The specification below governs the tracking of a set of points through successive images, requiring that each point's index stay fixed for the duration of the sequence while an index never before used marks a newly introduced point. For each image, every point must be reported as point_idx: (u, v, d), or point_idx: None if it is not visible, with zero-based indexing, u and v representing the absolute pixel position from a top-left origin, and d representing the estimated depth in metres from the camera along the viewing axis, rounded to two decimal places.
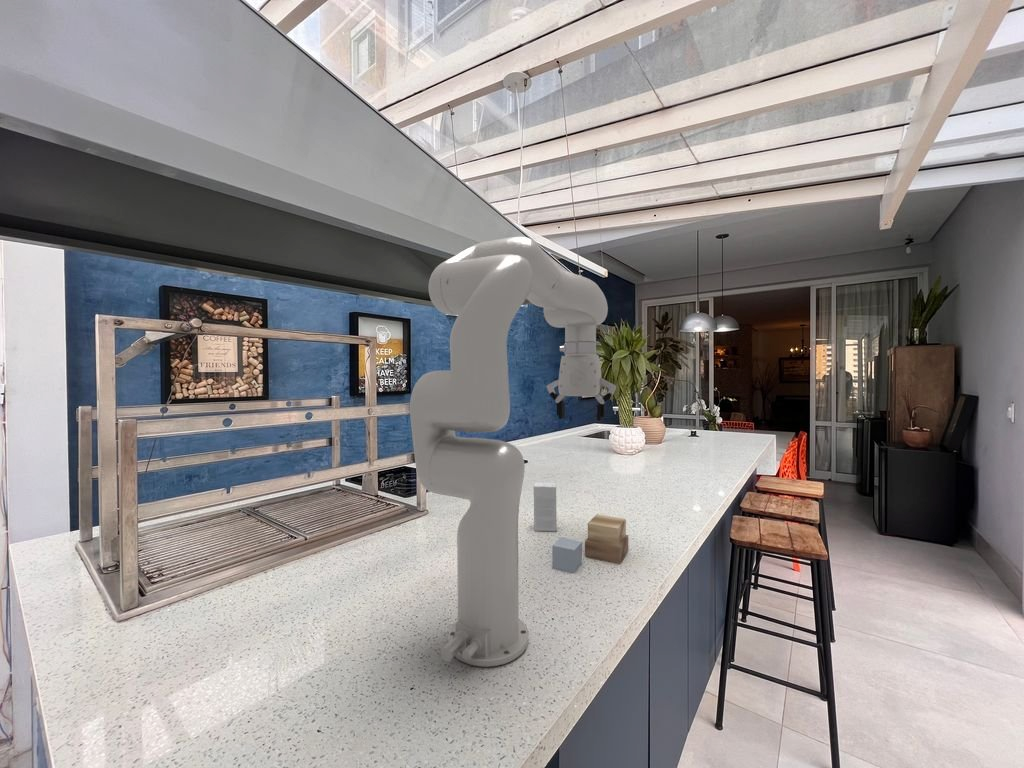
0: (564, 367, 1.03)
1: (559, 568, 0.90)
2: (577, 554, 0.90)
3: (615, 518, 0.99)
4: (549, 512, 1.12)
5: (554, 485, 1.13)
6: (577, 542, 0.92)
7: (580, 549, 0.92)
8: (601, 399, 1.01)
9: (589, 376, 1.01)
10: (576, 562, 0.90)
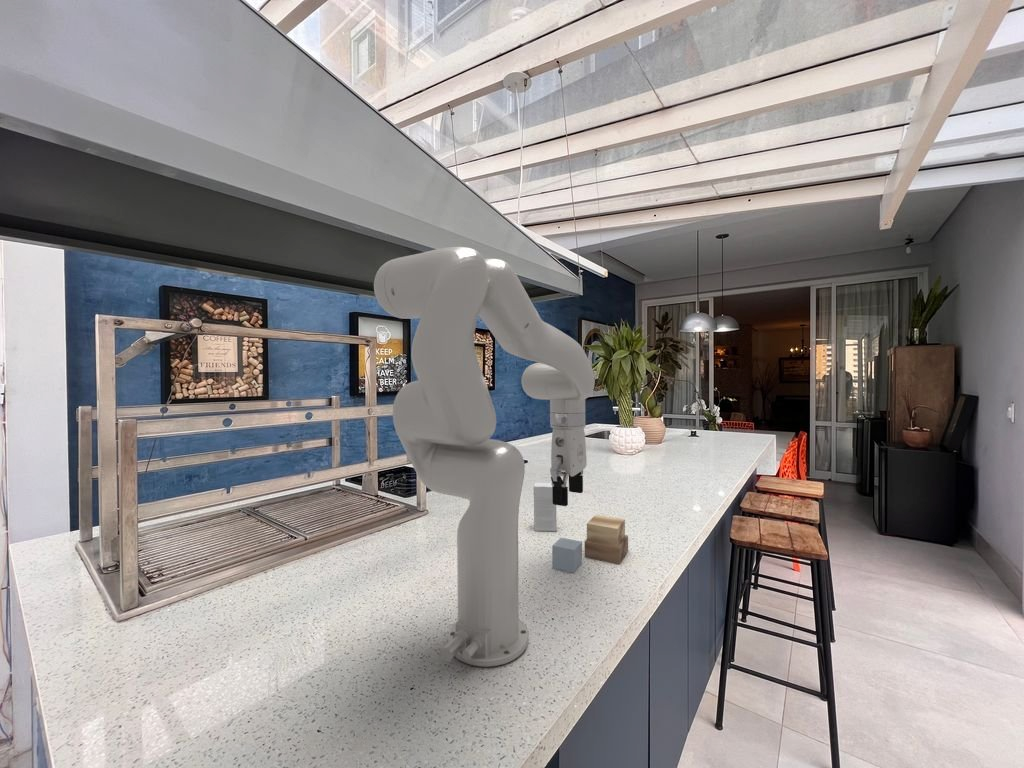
0: (574, 442, 0.87)
1: (559, 568, 0.90)
2: (577, 554, 0.90)
3: (614, 518, 0.99)
4: (549, 512, 1.12)
5: None
6: (577, 542, 0.92)
7: (580, 549, 0.92)
8: (581, 470, 0.96)
9: (584, 448, 0.93)
10: (576, 562, 0.90)
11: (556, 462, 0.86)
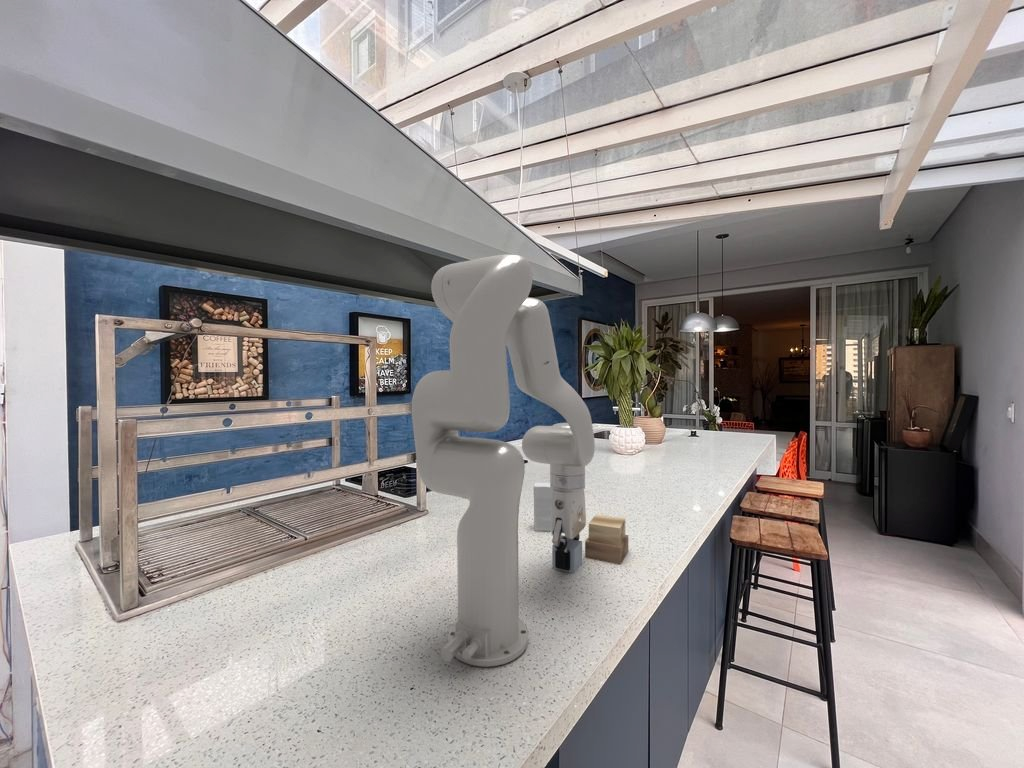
0: (573, 505, 0.87)
1: None
2: (577, 553, 0.90)
3: (615, 518, 1.00)
4: (549, 512, 1.12)
5: None
6: (577, 542, 0.92)
7: (580, 548, 0.92)
8: (578, 535, 0.94)
9: (583, 508, 0.93)
10: (576, 562, 0.90)
11: (557, 530, 0.86)
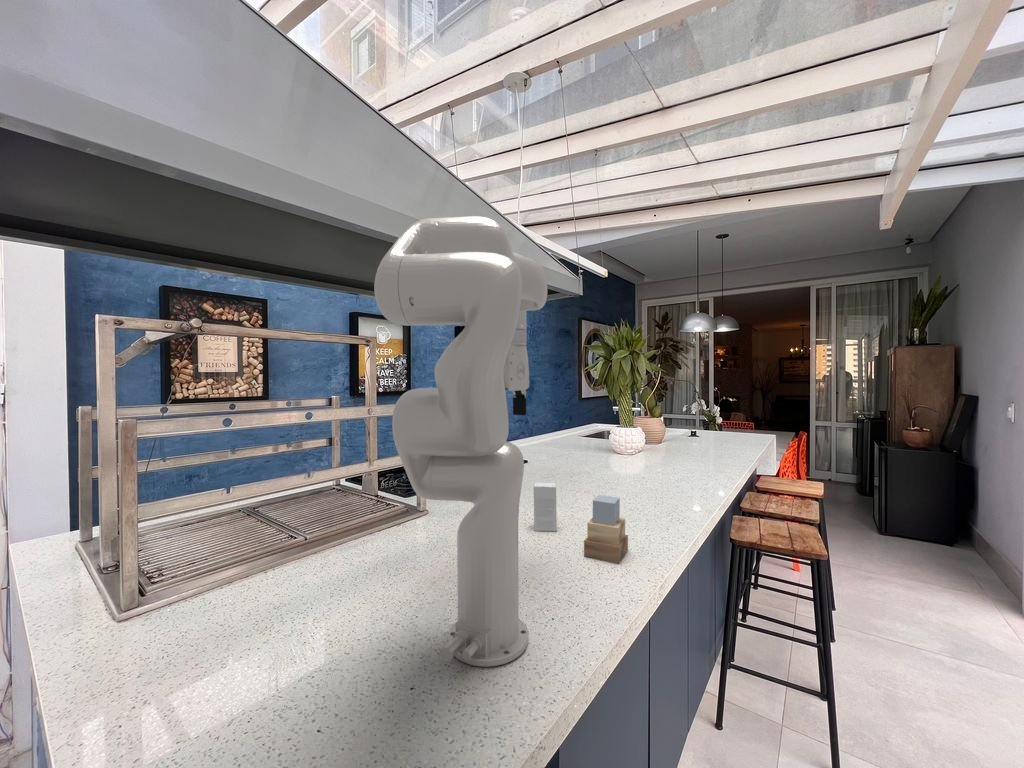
0: (513, 357, 0.89)
1: (599, 521, 0.96)
2: (616, 508, 0.96)
3: None
4: (549, 512, 1.12)
5: (554, 485, 1.13)
6: (615, 498, 0.98)
7: (618, 504, 0.98)
8: (525, 392, 0.97)
9: (526, 368, 0.94)
10: (616, 516, 0.96)
11: None
